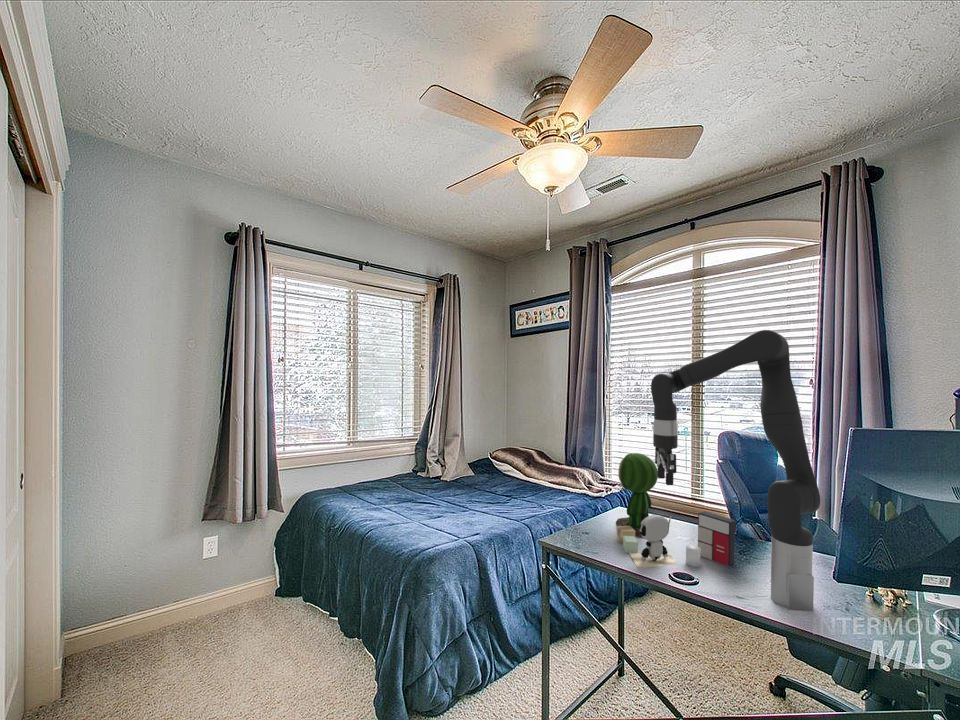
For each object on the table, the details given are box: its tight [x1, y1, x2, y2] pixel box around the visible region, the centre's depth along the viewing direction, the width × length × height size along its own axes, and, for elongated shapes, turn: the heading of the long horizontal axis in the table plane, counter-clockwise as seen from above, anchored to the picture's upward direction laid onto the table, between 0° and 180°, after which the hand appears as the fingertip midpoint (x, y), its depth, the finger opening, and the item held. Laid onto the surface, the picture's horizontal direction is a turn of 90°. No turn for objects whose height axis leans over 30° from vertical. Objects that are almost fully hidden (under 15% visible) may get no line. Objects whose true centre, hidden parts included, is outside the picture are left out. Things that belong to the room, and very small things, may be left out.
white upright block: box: [685, 544, 702, 568], centre depth 147 cm, size 4×4×6 cm
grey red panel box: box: [697, 510, 737, 566], centre depth 151 cm, size 11×4×15 cm, turn 34°
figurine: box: [615, 452, 659, 539], centre depth 178 cm, size 17×20×30 cm
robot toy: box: [640, 514, 672, 562], centre depth 150 cm, size 12×4×15 cm, turn 112°
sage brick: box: [622, 536, 639, 553], centre depth 159 cm, size 5×4×4 cm
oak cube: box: [616, 525, 636, 546], centre depth 166 cm, size 5×5×5 cm
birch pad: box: [629, 552, 678, 570], centre depth 148 cm, size 12×14×1 cm
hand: (665, 481), depth 148 cm, fingers open, 8 cm apart
